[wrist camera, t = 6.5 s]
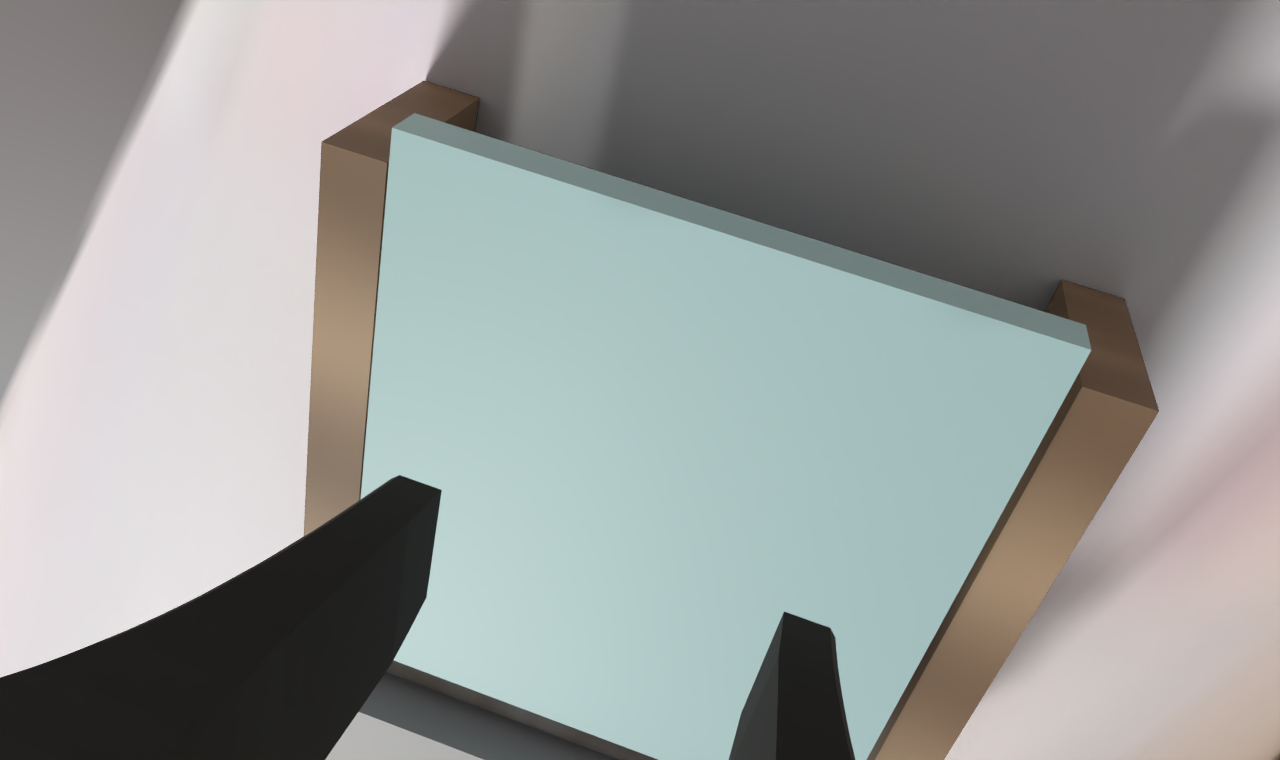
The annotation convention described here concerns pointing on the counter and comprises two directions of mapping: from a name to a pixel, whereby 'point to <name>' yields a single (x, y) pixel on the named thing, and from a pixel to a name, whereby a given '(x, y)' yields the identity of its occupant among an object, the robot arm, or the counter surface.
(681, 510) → the trapdoor
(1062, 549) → the frame
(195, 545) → the counter surface
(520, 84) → the counter surface
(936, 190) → the counter surface
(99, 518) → the counter surface
